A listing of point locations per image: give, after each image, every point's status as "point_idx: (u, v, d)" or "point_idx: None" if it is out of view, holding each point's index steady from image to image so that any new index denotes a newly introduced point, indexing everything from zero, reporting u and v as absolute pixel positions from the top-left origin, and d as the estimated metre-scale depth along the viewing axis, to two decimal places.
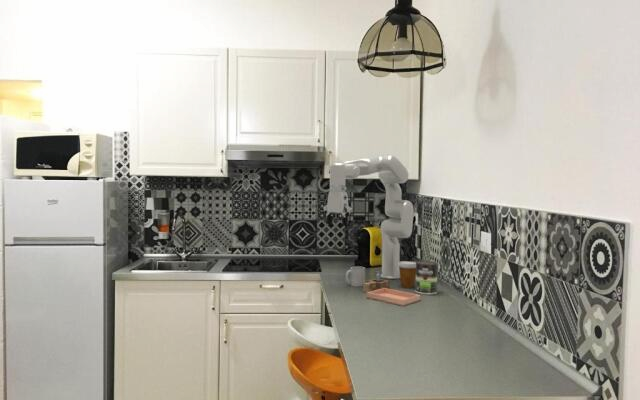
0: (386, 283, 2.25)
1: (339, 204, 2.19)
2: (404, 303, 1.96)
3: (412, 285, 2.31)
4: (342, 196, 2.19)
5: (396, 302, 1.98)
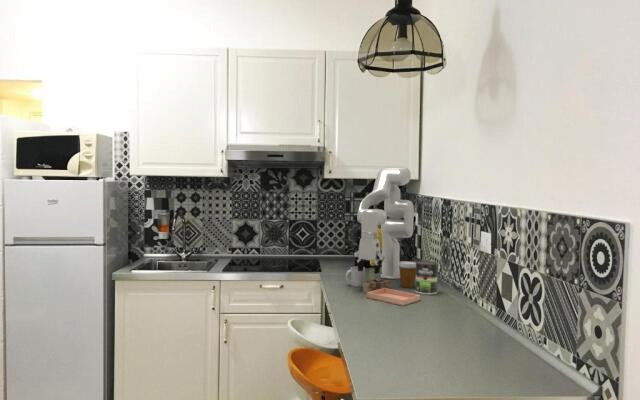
0: (386, 283, 2.25)
1: (371, 252, 2.17)
2: (404, 303, 1.96)
3: (412, 285, 2.31)
4: (374, 244, 2.16)
5: (396, 302, 1.98)
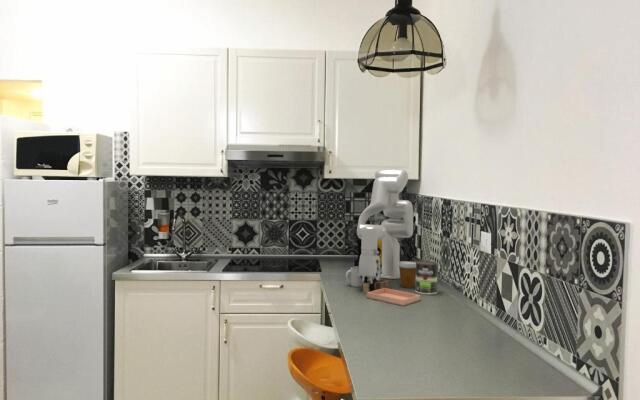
0: (386, 283, 2.25)
1: (371, 268, 2.17)
2: (404, 303, 1.96)
3: (412, 285, 2.31)
4: (374, 260, 2.17)
5: (396, 302, 1.98)
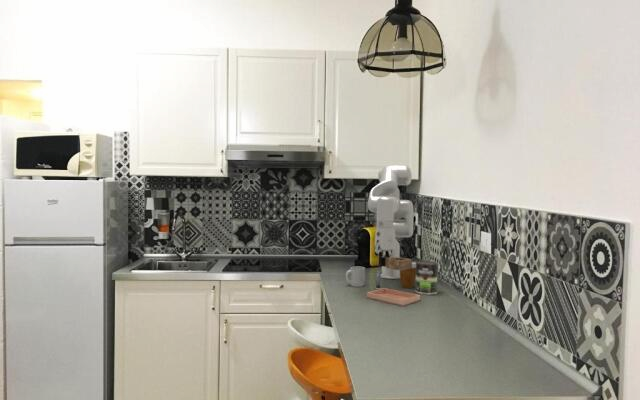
0: (396, 262, 2.00)
1: None
2: (404, 303, 1.96)
3: (412, 285, 2.31)
4: (376, 232, 2.07)
5: (396, 302, 1.98)
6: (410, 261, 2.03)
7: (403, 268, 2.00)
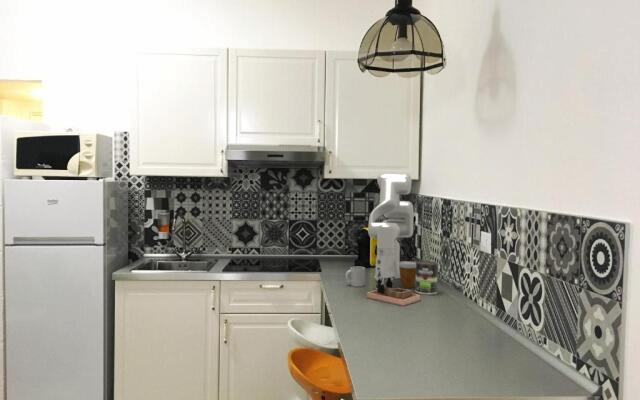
0: (396, 294, 2.01)
1: None
2: (404, 303, 1.96)
3: (412, 285, 2.31)
4: (376, 259, 2.07)
5: (396, 302, 1.98)
6: (410, 292, 2.04)
7: None
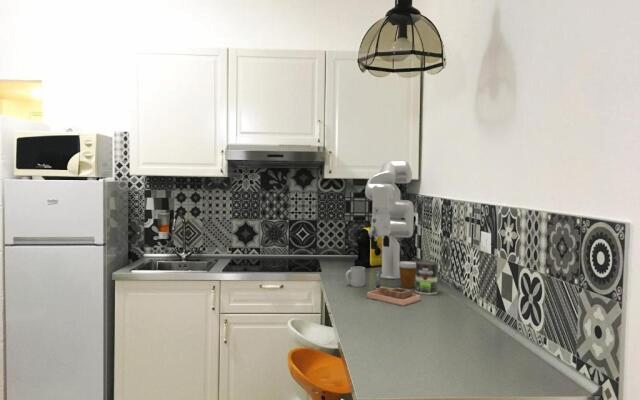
0: (396, 294, 2.01)
1: None
2: (404, 303, 1.96)
3: (412, 285, 2.31)
4: (372, 218, 2.15)
5: (396, 302, 1.98)
6: (410, 292, 2.04)
7: None
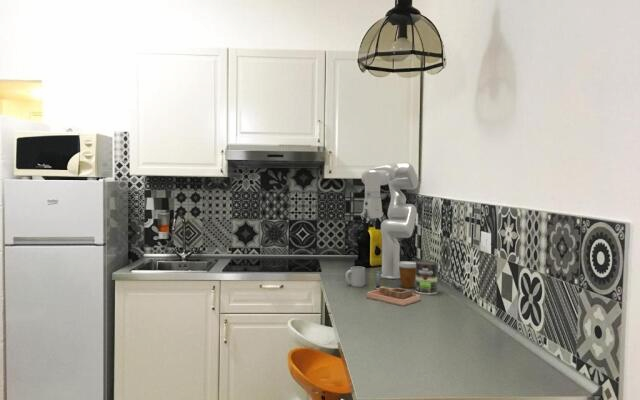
0: (396, 294, 2.01)
1: None
2: (404, 303, 1.96)
3: (412, 285, 2.31)
4: (364, 202, 2.28)
5: (396, 302, 1.98)
6: (410, 292, 2.04)
7: None
